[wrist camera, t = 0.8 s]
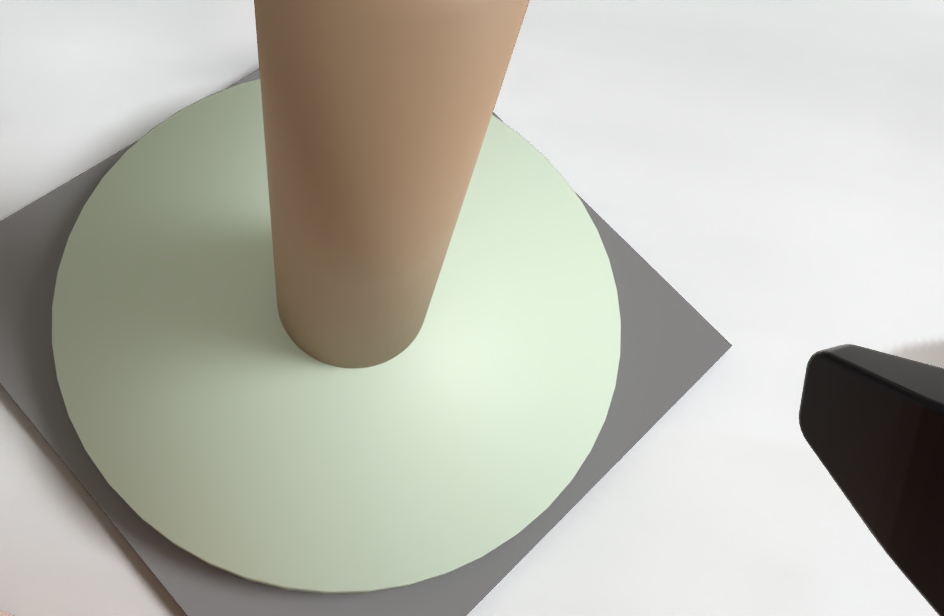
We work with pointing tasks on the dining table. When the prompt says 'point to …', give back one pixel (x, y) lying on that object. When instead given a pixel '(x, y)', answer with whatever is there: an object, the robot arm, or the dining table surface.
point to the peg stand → (341, 307)
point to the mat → (294, 612)
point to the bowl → (5, 614)
